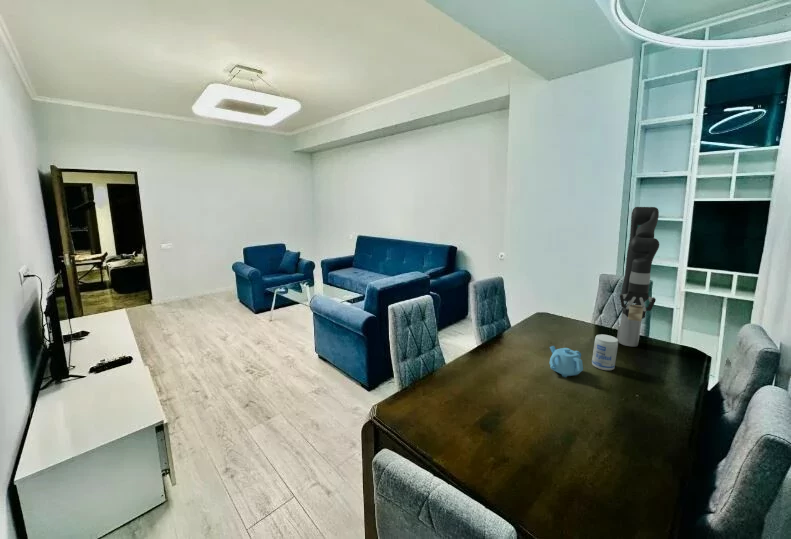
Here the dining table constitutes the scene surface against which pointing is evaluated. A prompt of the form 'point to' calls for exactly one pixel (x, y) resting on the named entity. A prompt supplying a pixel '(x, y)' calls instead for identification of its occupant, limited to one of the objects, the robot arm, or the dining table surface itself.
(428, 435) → the dining table surface
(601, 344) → the supplement tub
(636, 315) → the maple block
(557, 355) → the teapot
